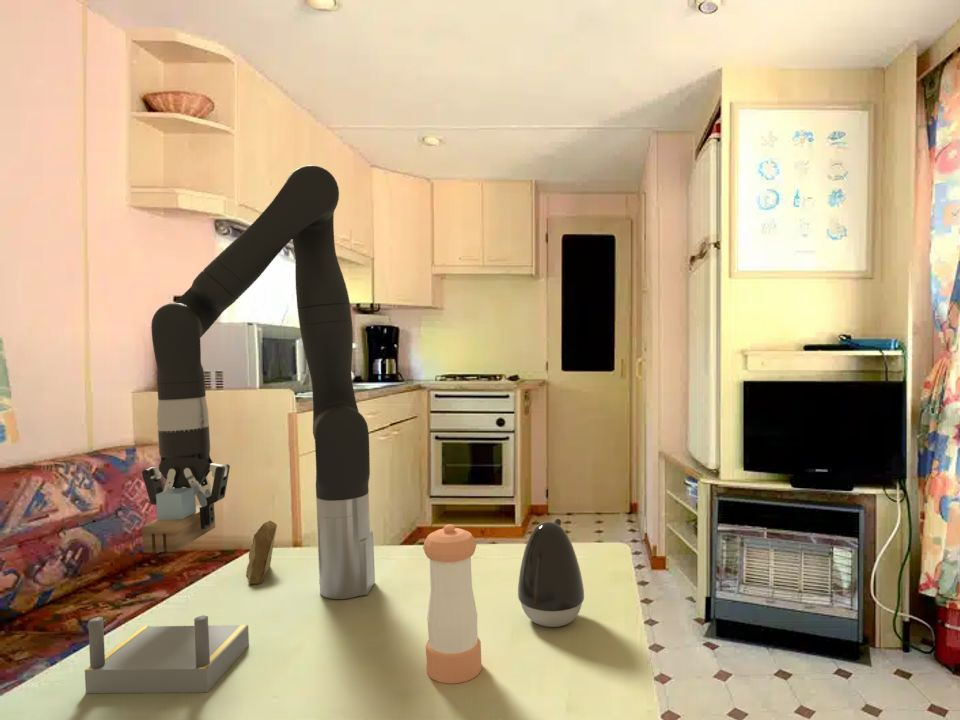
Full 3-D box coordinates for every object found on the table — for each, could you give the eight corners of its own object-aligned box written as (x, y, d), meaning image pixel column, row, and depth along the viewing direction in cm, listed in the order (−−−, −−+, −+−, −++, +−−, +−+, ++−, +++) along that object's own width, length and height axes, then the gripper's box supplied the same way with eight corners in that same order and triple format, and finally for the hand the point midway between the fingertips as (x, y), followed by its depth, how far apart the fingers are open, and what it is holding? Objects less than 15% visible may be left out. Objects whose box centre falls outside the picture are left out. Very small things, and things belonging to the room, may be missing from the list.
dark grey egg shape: (592, 610, 94) (589, 515, 94) (574, 640, 85) (571, 535, 85) (532, 601, 98) (529, 510, 98) (509, 628, 89) (505, 528, 89)
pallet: (186, 528, 101) (185, 505, 101) (215, 527, 100) (214, 504, 100) (143, 552, 89) (141, 526, 89) (175, 551, 88) (174, 525, 88)
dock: (249, 645, 87) (246, 584, 87) (207, 692, 75) (204, 621, 75) (143, 646, 87) (140, 586, 87) (85, 693, 75) (82, 623, 75)
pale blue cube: (172, 512, 96) (170, 488, 96) (196, 512, 96) (194, 487, 95) (157, 520, 92) (156, 494, 92) (182, 519, 92) (181, 493, 91)
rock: (270, 575, 109) (299, 550, 118) (241, 539, 109) (272, 516, 118) (234, 605, 112) (265, 578, 121) (206, 569, 112) (239, 545, 121)
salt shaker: (446, 650, 83) (441, 515, 83) (491, 662, 80) (486, 520, 79) (415, 675, 77) (410, 529, 77) (462, 689, 73) (457, 536, 73)
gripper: (236, 421, 100) (242, 520, 100) (155, 424, 101) (160, 523, 101) (215, 427, 93) (220, 534, 93) (126, 430, 93) (132, 537, 94)
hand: (189, 528), depth 97 cm, fingers closed on pallet, 5 cm apart
